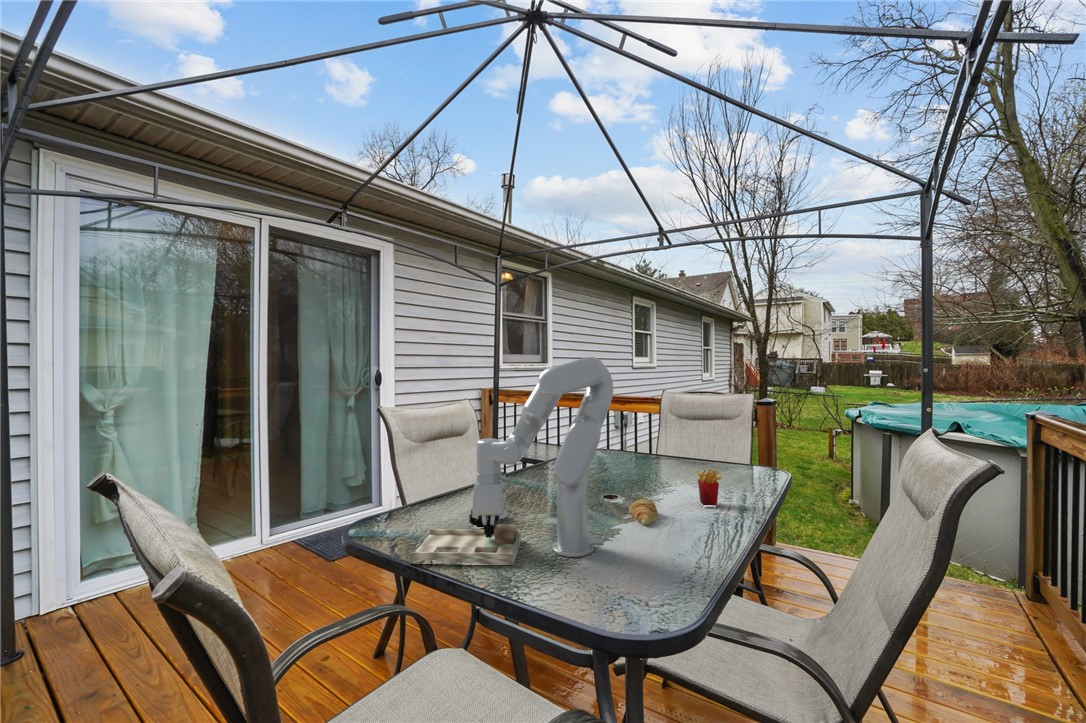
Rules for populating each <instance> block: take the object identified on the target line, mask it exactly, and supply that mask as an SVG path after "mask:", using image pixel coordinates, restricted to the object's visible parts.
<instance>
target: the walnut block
mask: <svg viewBox="0 0 1086 723" xmlns="http://www.w3.org/2000/svg"><path fill="white" fill-rule="evenodd" d="M494 530H495V544H514V542H515V539H516V530H517V524H515V523H514V524H513V523H511V524H509V523H508V524H505V523H504V524H503V523H497V524H496V527H495V528H494Z"/></svg>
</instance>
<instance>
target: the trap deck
mask: <svg viewBox="0 0 1086 723" xmlns="http://www.w3.org/2000/svg"><path fill="white" fill-rule="evenodd" d="M521 531H522V530H521V529H516V539H515V542H514V544H495V529H494V534H492V537H491V538H489V537H488V538H486V534H484V529H480V530H476V529H461V528H460V529H458V528H457V529H453V528H452V529H450V528H449V529H448V528H447V529H446V528H445V529H443V528H442V529H441V528H440V529H439V528H435V529H431V528H429V535H428V536H427V537H426V538H425V539H424V540H423V542H422V543H421V544H420V545H419V547H418V548H417V549H416V550H415V551H410V552H409V557H410V558H409V560H410V559H417V560H439V561H440V560H441V561H450V562H465V563H466V562H467V563H479V564H494V565H495V564H497V565H513V566H514V565H515V562H516V559H517V555H518V552H519V549H518V548H520V544H521V542H522V538H521V537H522V532H521ZM437 549H446V550H458V551H457V552H436V550H437ZM476 552H488V553H476ZM489 552H490V553H489ZM515 558H516V559H515ZM514 561H515V562H514Z"/></svg>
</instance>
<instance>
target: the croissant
mask: <svg viewBox="0 0 1086 723" xmlns="http://www.w3.org/2000/svg"><path fill="white" fill-rule="evenodd" d="M628 512H629V514H630V516H631V517H632V518H633V519H634V520H636V521H637V522H639V523H640V522H641V523H640V524H641V525H643V526H648V525H651V524H653V523H652V522H655V521H656V520H657V519H658V516H659V514H658V509H657V506H656V504H655V503H654V502H653V501H652V500H650V499H648V498H647V497H644V498H640V499H637V500H636V499H635V501H633V503H631V505H630V506H629V508H628ZM656 518H657V519H656Z"/></svg>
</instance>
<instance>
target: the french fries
mask: <svg viewBox="0 0 1086 723" xmlns="http://www.w3.org/2000/svg"><path fill="white" fill-rule="evenodd" d="M697 474H698V478H699V479H697V483H698V494H699V502H701V503H702V504H703V505H717V506H718V499H719V498H718V496H719V495H718V494H719V488H720V487H719V486H720V484H719V482H718V481H719V480H721V479H722V476H721V475H719V474H720V471H718V470H717V469H716V470H712V469H711V468H709V469H708V470H707V469H704V470H703V471H700V470H698V471H697ZM717 475H718V476H717ZM701 503H700V504H701Z"/></svg>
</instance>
